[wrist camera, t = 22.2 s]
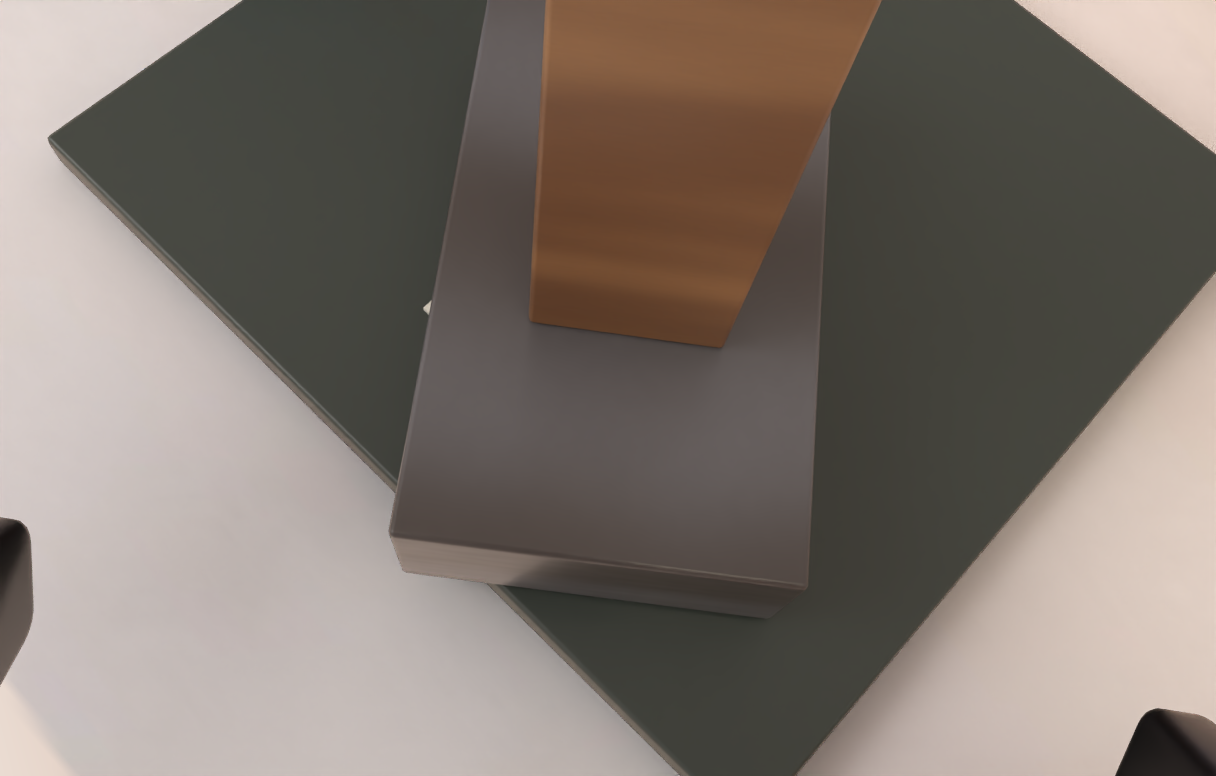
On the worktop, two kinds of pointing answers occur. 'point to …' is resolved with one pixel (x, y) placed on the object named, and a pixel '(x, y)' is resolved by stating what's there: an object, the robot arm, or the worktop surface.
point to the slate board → (850, 317)
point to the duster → (631, 304)
